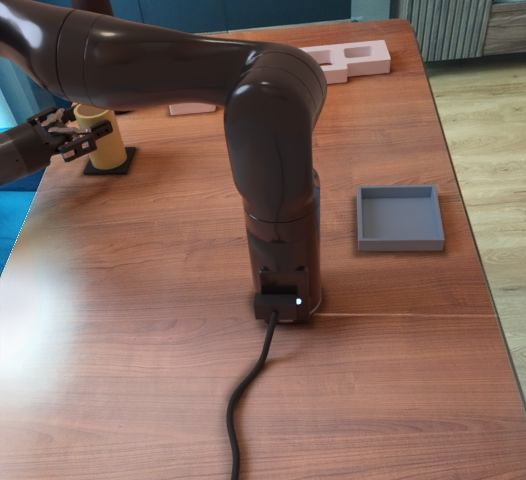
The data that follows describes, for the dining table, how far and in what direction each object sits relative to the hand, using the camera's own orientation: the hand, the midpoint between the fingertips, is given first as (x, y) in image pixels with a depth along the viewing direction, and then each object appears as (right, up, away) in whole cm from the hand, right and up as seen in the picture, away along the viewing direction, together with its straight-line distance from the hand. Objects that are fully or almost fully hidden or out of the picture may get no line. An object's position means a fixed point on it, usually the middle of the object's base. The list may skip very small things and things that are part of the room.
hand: (98, 116), depth 101 cm
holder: (+32, +15, +20) cm, 41 cm away
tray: (+49, -21, -11) cm, 55 cm away
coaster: (0, -6, +7) cm, 9 cm away
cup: (0, -5, +6) cm, 8 cm away
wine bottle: (-1, +10, +20) cm, 22 cm away
